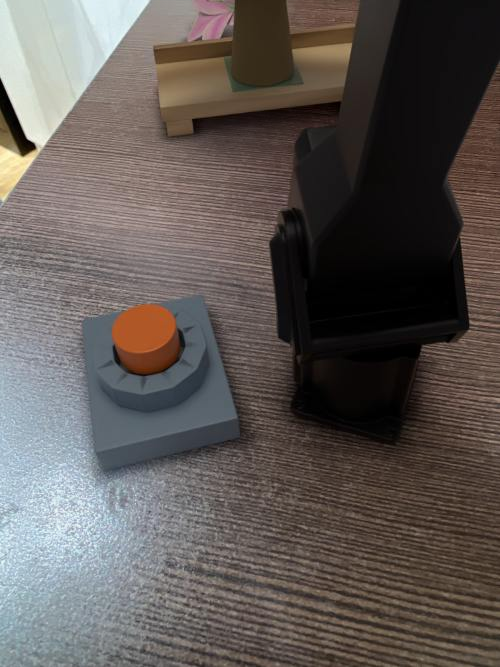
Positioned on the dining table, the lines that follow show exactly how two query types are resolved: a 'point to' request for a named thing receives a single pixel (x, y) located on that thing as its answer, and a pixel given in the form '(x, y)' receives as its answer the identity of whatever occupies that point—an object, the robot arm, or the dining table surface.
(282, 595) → the dining table surface
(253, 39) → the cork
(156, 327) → the bell button
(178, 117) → the shelf
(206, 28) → the lily
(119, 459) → the control box
